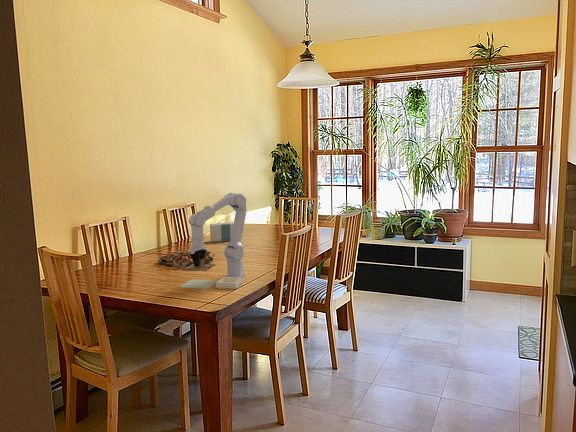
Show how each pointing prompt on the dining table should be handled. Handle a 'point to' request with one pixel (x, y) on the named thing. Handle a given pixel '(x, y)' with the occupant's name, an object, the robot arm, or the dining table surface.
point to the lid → (201, 266)
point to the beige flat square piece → (199, 284)
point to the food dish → (182, 259)
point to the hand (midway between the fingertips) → (198, 265)
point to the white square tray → (229, 283)
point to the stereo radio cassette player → (221, 231)
